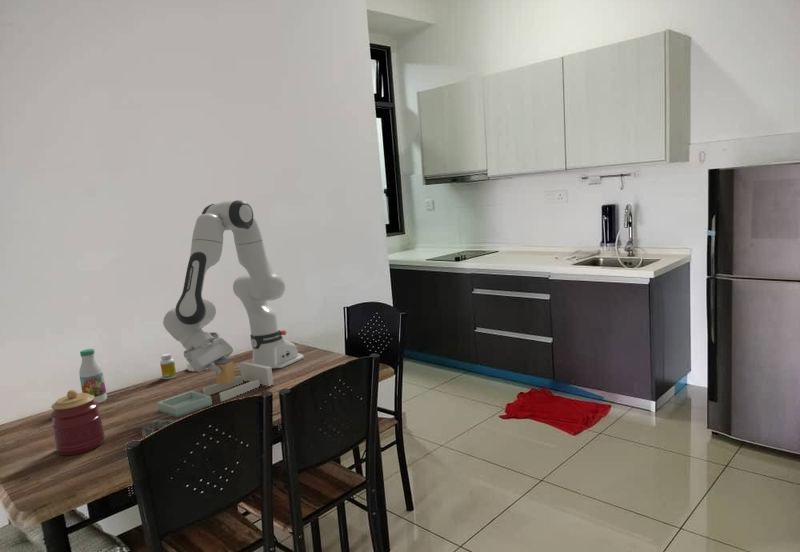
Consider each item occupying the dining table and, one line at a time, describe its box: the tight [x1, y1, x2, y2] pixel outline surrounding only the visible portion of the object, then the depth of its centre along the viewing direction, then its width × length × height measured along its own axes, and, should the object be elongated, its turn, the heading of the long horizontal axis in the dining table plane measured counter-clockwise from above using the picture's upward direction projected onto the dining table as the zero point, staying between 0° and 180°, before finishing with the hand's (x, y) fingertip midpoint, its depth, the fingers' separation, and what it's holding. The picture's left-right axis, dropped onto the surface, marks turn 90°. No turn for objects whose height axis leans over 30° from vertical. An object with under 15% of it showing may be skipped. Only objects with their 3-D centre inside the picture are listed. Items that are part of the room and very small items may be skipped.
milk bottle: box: [78, 348, 108, 404], centre depth 211 cm, size 8×8×20 cm
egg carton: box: [138, 418, 177, 438], centre depth 174 cm, size 11×8×4 cm
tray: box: [157, 390, 213, 419], centre depth 196 cm, size 13×13×3 cm
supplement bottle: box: [159, 353, 177, 380], centre depth 236 cm, size 5×5×10 cm
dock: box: [202, 361, 275, 402], centre depth 210 cm, size 20×18×7 cm
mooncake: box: [186, 362, 210, 372], centre depth 247 cm, size 12×12×4 cm
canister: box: [49, 389, 106, 456], centre depth 169 cm, size 13×13×18 cm
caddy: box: [215, 358, 236, 384], centre depth 206 cm, size 4×4×8 cm
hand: (226, 369), depth 206 cm, fingers closed on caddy, 4 cm apart
